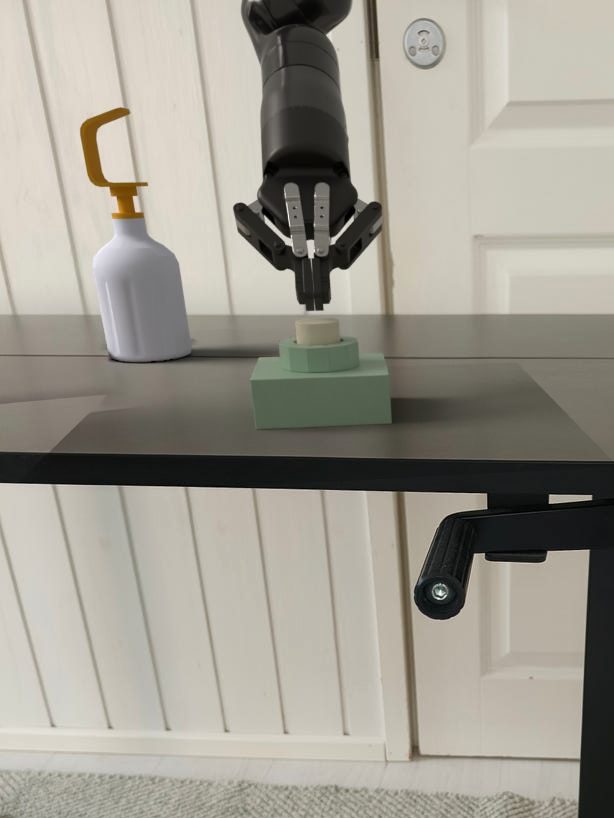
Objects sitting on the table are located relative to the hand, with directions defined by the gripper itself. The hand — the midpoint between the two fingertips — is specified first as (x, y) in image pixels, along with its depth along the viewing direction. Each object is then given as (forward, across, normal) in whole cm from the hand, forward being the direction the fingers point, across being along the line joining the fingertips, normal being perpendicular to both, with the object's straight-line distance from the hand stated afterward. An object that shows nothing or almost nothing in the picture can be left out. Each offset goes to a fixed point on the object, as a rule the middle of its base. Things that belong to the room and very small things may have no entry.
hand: (314, 304), depth 75 cm
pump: (+2, 0, +2) cm, 3 cm away
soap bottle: (-16, -20, +29) cm, 39 cm away
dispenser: (+6, 0, +6) cm, 9 cm away
